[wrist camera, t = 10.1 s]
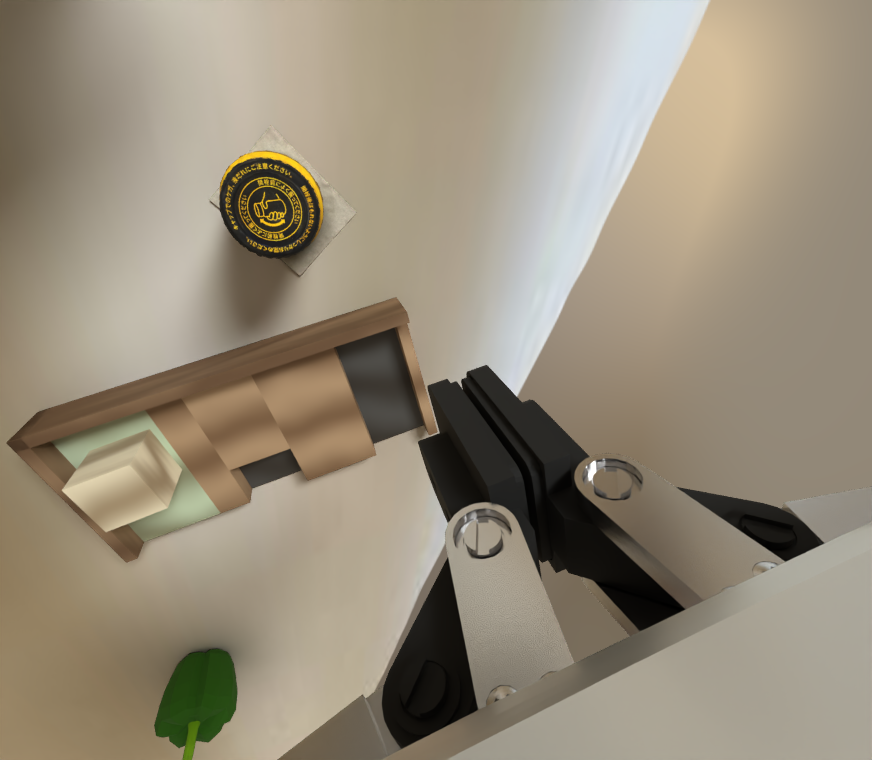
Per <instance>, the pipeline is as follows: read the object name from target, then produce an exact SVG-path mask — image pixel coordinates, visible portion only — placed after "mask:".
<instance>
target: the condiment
mask: <svg viewBox="0 0 872 760" xmlns="http://www.w3.org/2000/svg"><path fill="white" fill-rule="evenodd" d="M209 200H210V201H211V202H213V203H214V204H215V205H216V206H217V207H219V208H220V212H221V215H222V218H223V220H224V224H225V225H226V227H227V229H228V230H229V232H230V233H231V234H232V236H233V237H234V238H235V239H236V240H237V241H238V242H239V243H240V244H241V245H242V246H243V247H246V248H247V249H248V250H249V251H251V252H254V253H256V254H257V255H258V256H264V257H268V258H278V259H281V260H282V261H283V262H284V263H285V264H287V265H288V266H289V267H290V268H291V269H292V270H294V271H295V272H296V273H297V274H299V275H300V276H301V274H302V273H303V272H304V271H305V270H306V269H307V267H308V266H309V265H310V264H311V263H312V262H313V261H314V260H315V258H316V257H317V256H318V255H319V254H320V253H321V252H322V250H323V249H324V248H325V247H326V246H327V245H328V244H329V243H330V242H331V240H332V239H333V238H334V237H335V236H336V235H337V234H338V233H339V232H340V231H341V229H342V228H343V227H344V226H345V225H346V224H347V223H348V222H349V221H350V219H351V218H352V217H353V216H354V215H355V214H356V213H357V212H356V211H355V210H354V209H353V208H352V207H351V206H350V205H349V204H348V203H347V202H346V201H345V200H344V199H343V198H342V197H341V196H340V195H339V194H338V193H337V192H336V191H335V190H334V189H333V188H332V187H331V186H330V185H329V183H328V182H327V181H326V180H325V179H324V178H323V177H322V176H321V175H320V174H319V173H318V172H317V171H316V170H315V169H314V168H313V167H312V166H311V165H310V164H309V163H308V162H307V161H306V160H305V159H304V158H303V157H302V156H301V155H300V154H299V153H298V152H297V151H296V150H295V149H294V148H293V147H292V146H291V145H290V144H289V143H288V142H287V141H286V140H285V139H284V138H283V137H282V136H281V135H280V134H279V133H278V132H277V131H276V129H275V128H274V127H273V126H272V125H270V127H269V128H268V129H267V130H266V132H265V133H264V134H263V135H262V136H261V137H260V139H259V140H258V141H257V142H256V144H255V145H254V146H253V147H252V149H251V150H250V151H249V152H248V153H247V154H245V155H243V156H240V157H239V159H237V160H236V161H235V162H234V163H232V164H231V165H230V166H229V167H228V168H227V170H226V172H225V174H224V176H223V178H222V180H221V182H220V187H219V188H218V189H217V191H216V192H215V193H214V194H213V195H212V197H211V198H210V199H209Z"/></svg>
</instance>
